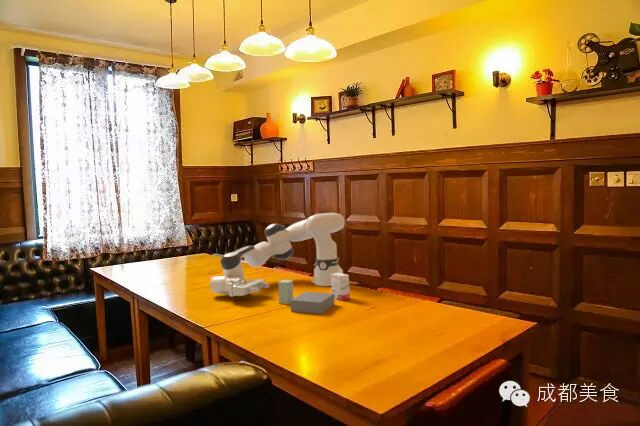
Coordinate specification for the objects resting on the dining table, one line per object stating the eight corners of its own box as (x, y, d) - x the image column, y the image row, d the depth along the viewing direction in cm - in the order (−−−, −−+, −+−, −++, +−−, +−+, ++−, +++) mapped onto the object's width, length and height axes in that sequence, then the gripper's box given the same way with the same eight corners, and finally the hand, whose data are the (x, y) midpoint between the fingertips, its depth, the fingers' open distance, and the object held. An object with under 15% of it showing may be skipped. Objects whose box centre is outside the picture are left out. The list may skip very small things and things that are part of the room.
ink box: (350, 299, 210) (349, 274, 209) (341, 301, 207) (341, 276, 207) (339, 296, 217) (339, 272, 217) (331, 297, 215) (330, 273, 214)
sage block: (283, 300, 211) (283, 279, 211) (293, 301, 209) (292, 280, 209) (278, 303, 207) (278, 282, 206) (288, 304, 205) (287, 282, 204)
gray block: (306, 302, 207) (306, 291, 207) (334, 304, 202) (334, 293, 202) (291, 311, 193) (290, 300, 192) (320, 314, 187) (320, 302, 187)
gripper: (250, 287, 227) (274, 289, 222) (227, 297, 209) (252, 299, 203) (250, 275, 227) (273, 277, 222) (226, 284, 208) (252, 285, 203)
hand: (263, 287), depth 212 cm, fingers open, 8 cm apart
